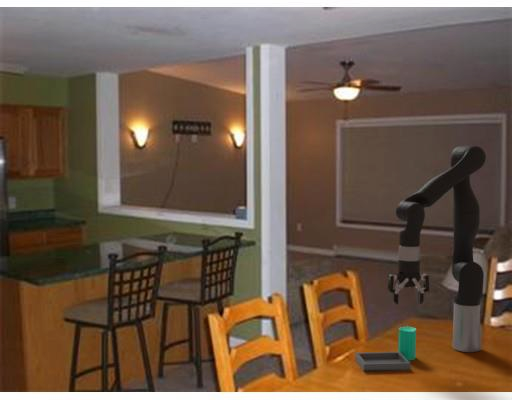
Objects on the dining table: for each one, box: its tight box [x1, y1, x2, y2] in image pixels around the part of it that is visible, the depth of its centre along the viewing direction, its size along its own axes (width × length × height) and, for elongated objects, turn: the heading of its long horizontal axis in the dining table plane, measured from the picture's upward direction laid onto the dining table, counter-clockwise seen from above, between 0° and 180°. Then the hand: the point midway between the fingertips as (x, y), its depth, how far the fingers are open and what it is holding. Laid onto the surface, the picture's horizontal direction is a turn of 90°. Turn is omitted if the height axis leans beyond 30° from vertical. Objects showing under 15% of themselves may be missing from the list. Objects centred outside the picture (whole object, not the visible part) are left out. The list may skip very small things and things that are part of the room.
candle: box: [397, 324, 417, 361], centre depth 222 cm, size 6×6×12 cm
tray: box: [354, 351, 412, 373], centre depth 215 cm, size 16×12×2 cm
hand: (408, 303), depth 221 cm, fingers open, 8 cm apart
